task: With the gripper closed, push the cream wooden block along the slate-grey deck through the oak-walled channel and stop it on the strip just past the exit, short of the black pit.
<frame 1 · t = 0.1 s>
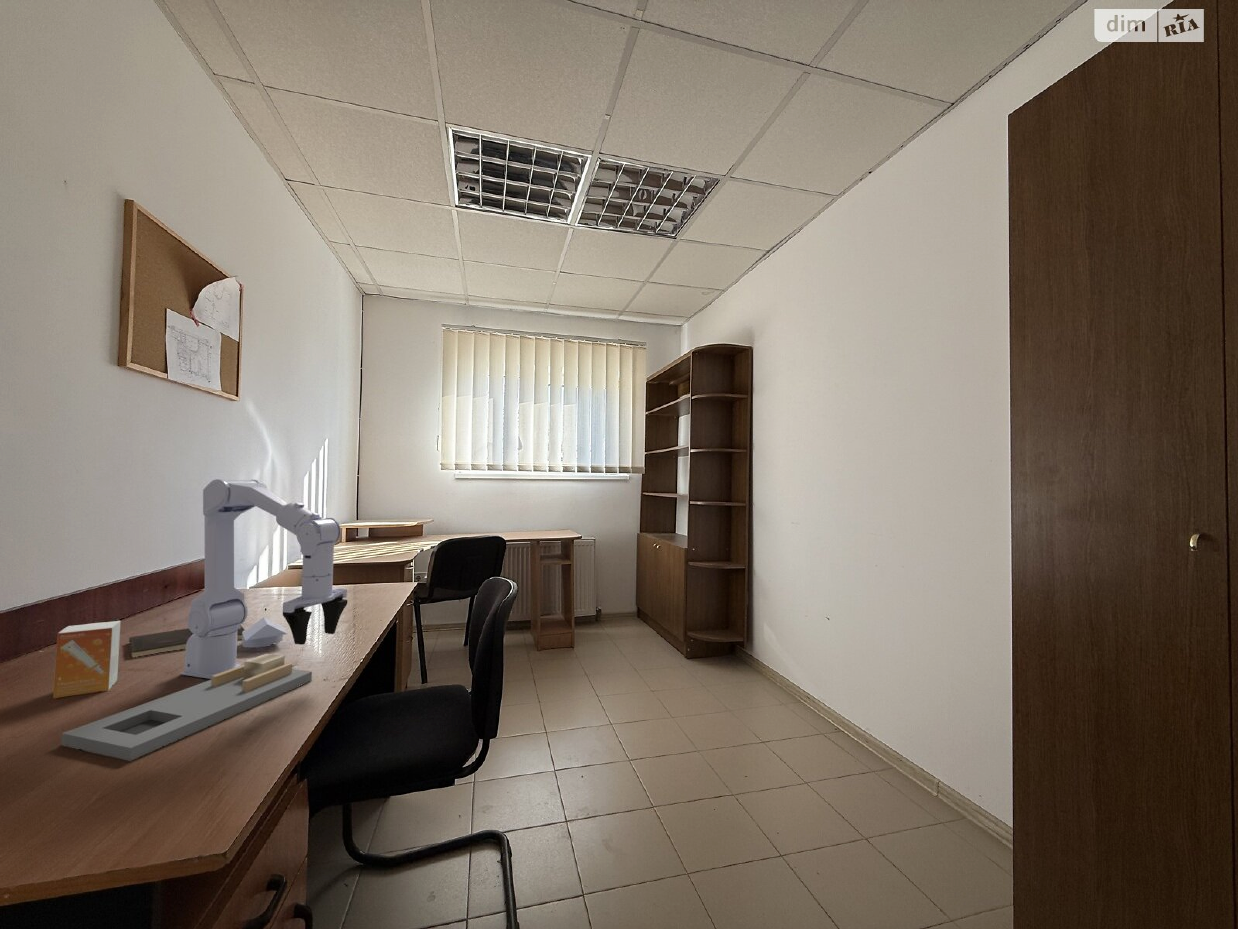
hand: (315, 638, 108), 10 cm above the table, tool pointing down, fingers open, 7 cm apart
hardcover book: (189, 643, 135), on the table
small box: (86, 690, 104), on the table
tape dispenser: (263, 645, 134), on the table
deck: (204, 708, 96), on the table
wooden block: (264, 675, 108), point 2 cm above the table, touching deck
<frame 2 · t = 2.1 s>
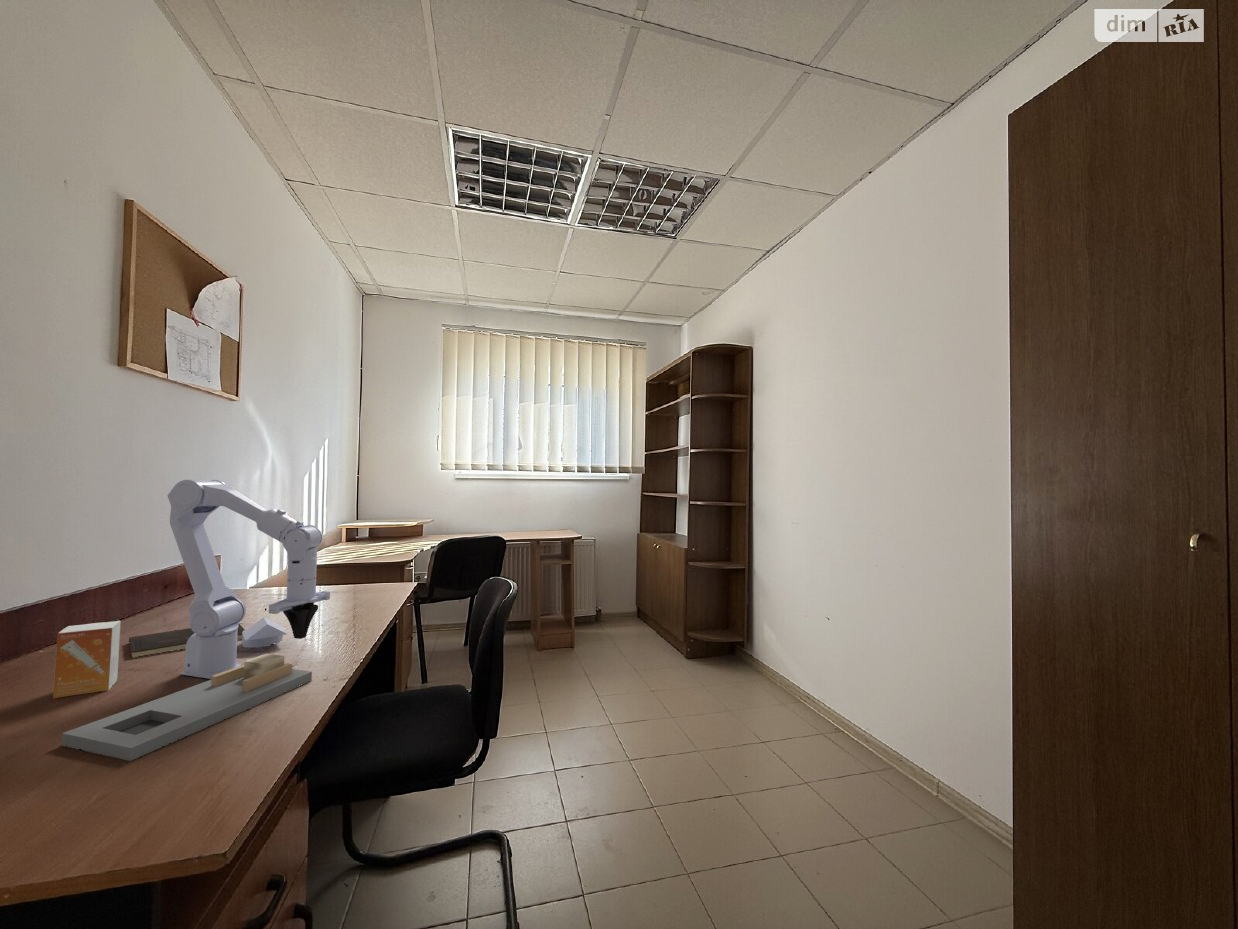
hand: (299, 637, 116), 7 cm above the table, tool pointing down, fingers closed
nothing on the table moved.
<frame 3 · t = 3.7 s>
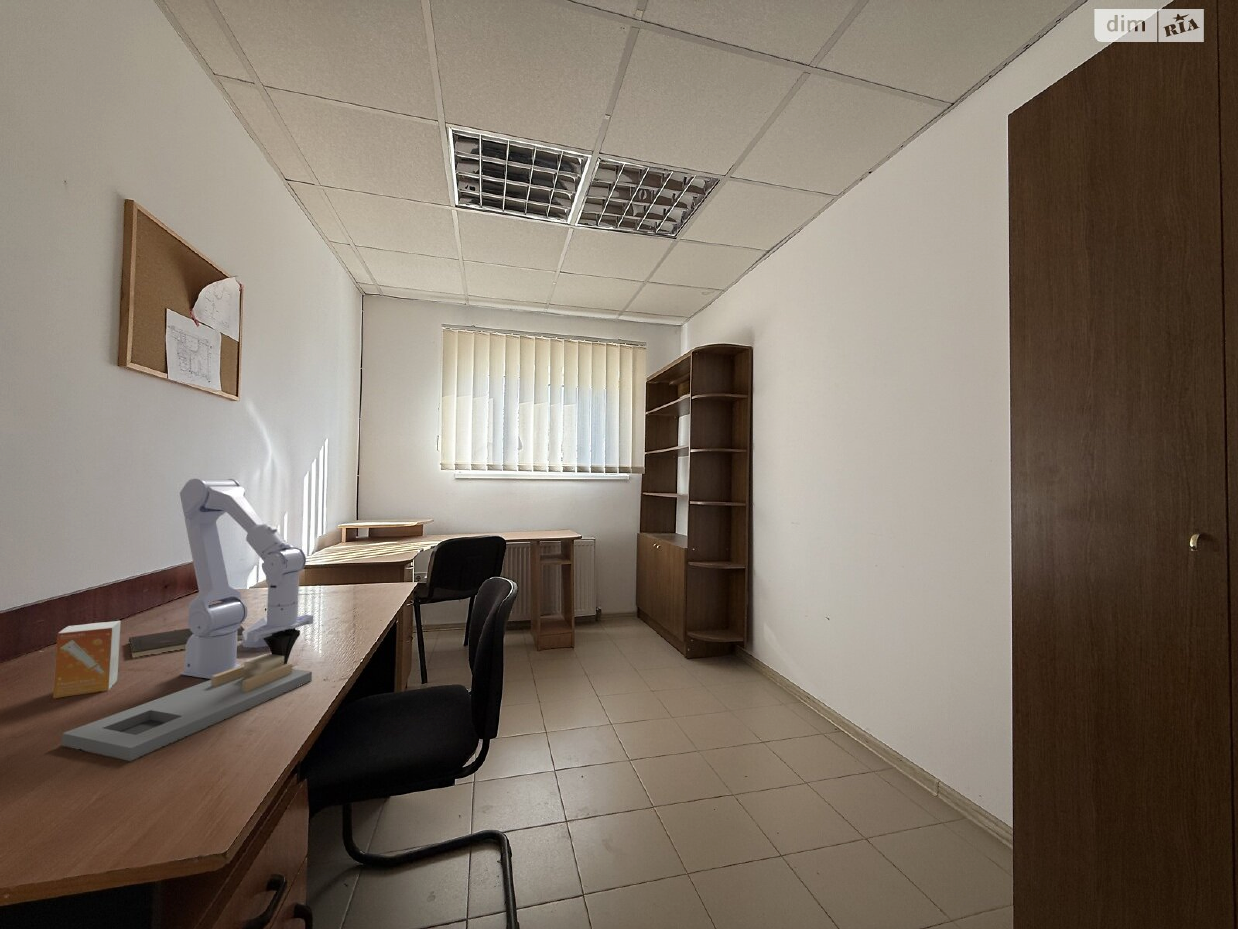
hand: (280, 665, 111), 3 cm above the table, tool pointing down, fingers closed
wooden block: (263, 675, 108), point 2 cm above the table, touching deck, gripper
everything else where it was.
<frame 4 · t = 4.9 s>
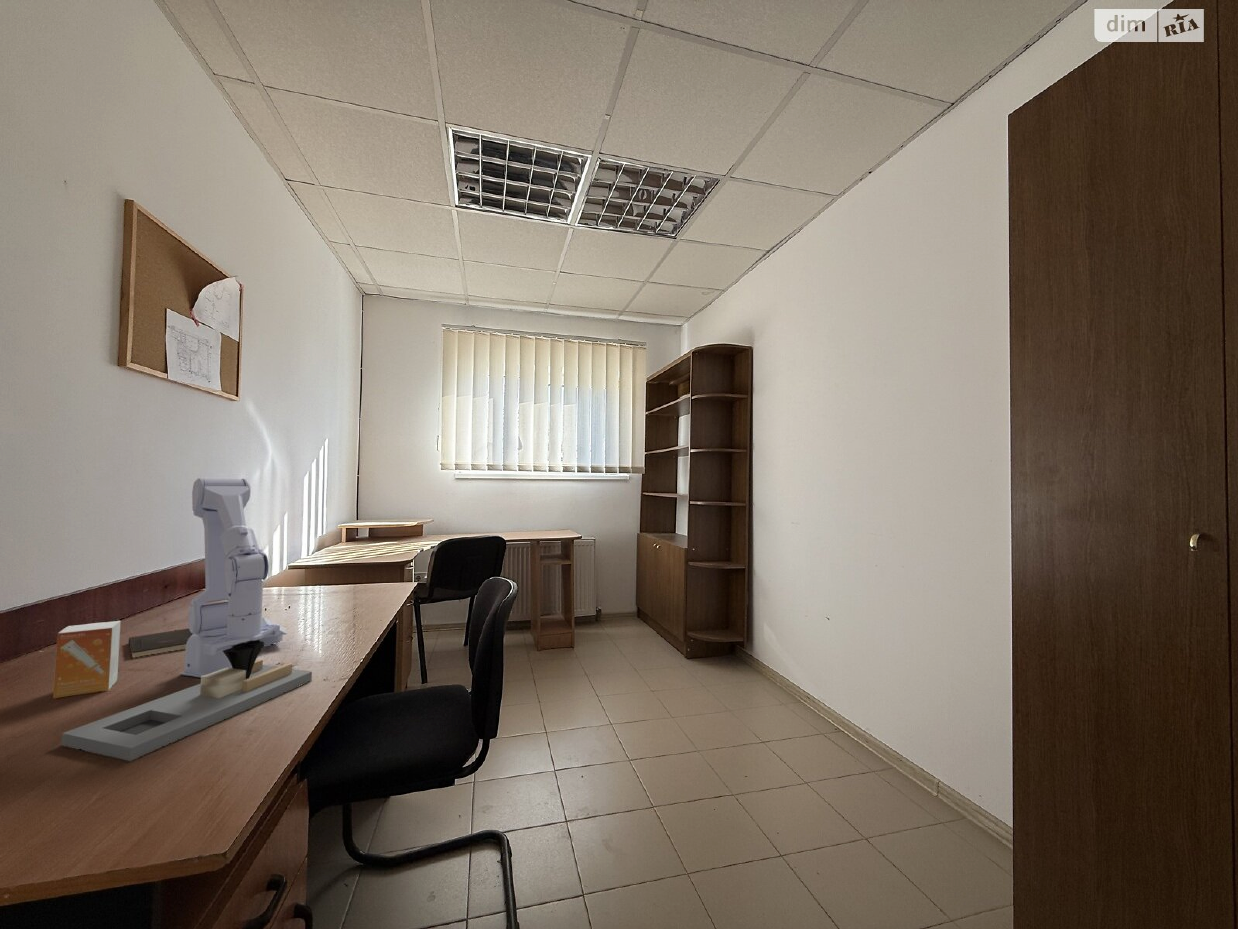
hand: (242, 679, 103), 3 cm above the table, tool pointing down, fingers closed
wooden block: (223, 691, 99), point 2 cm above the table
everything else where it was.
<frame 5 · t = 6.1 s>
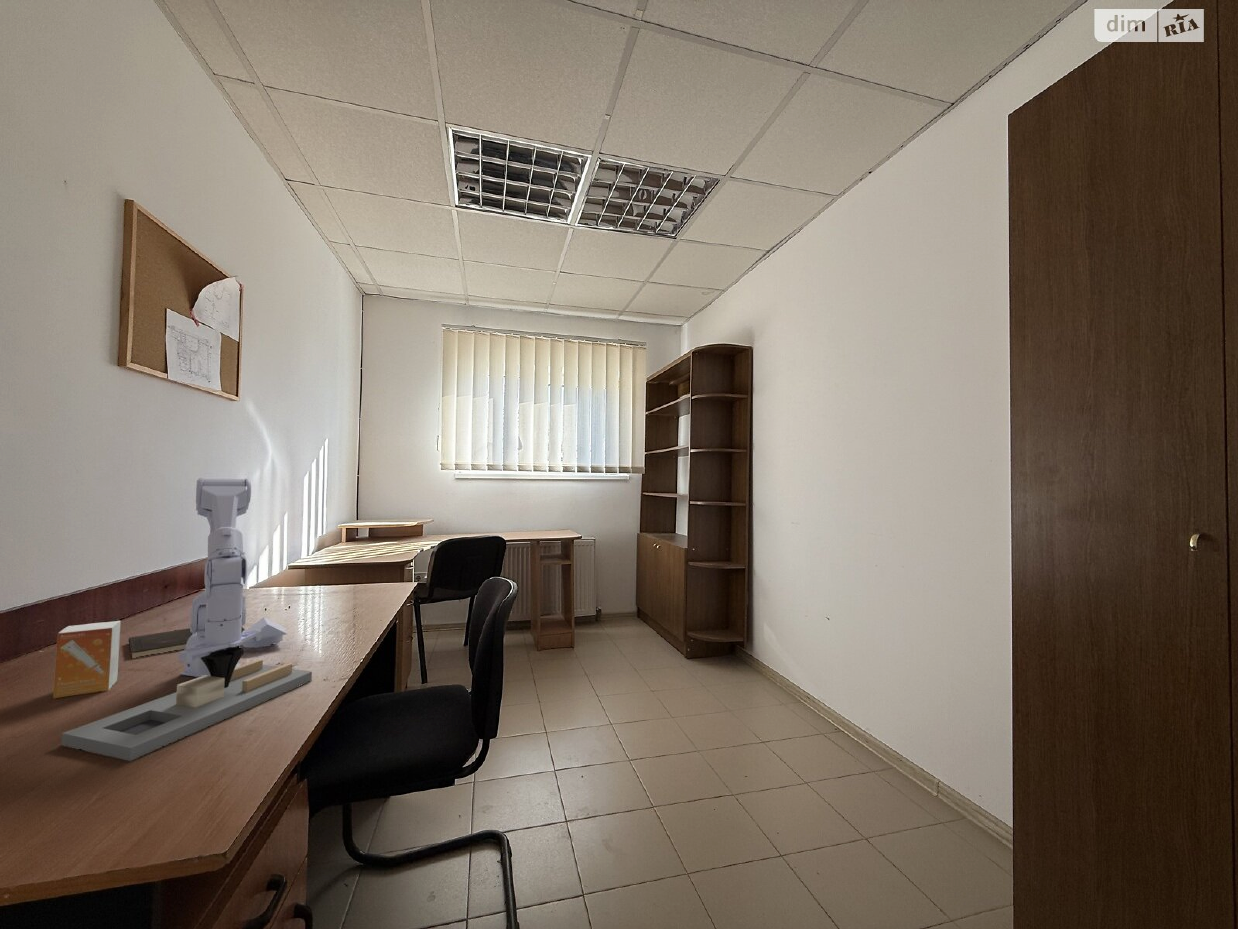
hand: (221, 687, 99), 3 cm above the table, tool pointing down, fingers closed
wooden block: (200, 700, 95), point 2 cm above the table, touching deck, gripper
everything else where it was.
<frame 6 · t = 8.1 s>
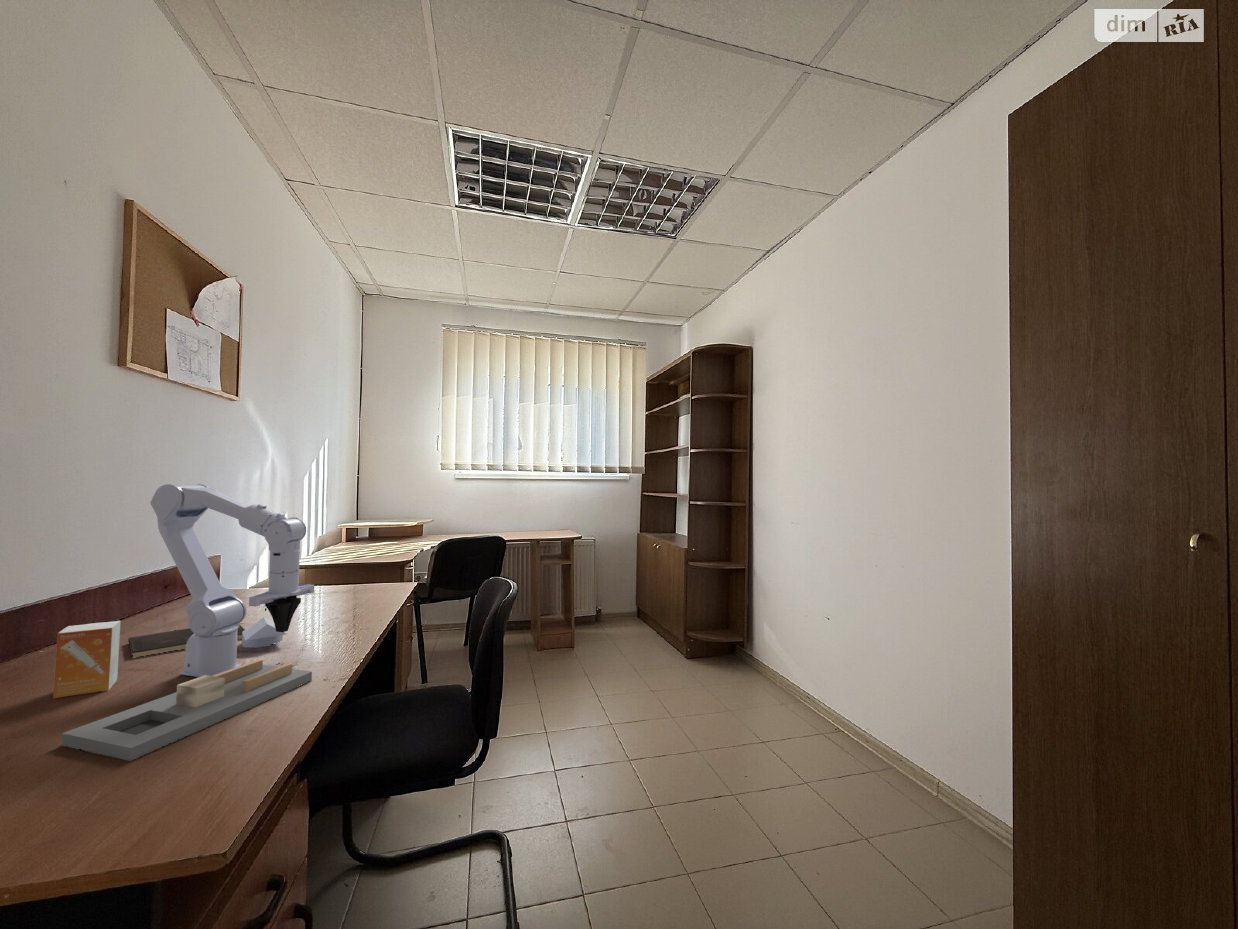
hand: (282, 631, 114), 9 cm above the table, tool pointing down, fingers closed
wooden block: (200, 700, 95), point 2 cm above the table, touching deck
everything else where it was.
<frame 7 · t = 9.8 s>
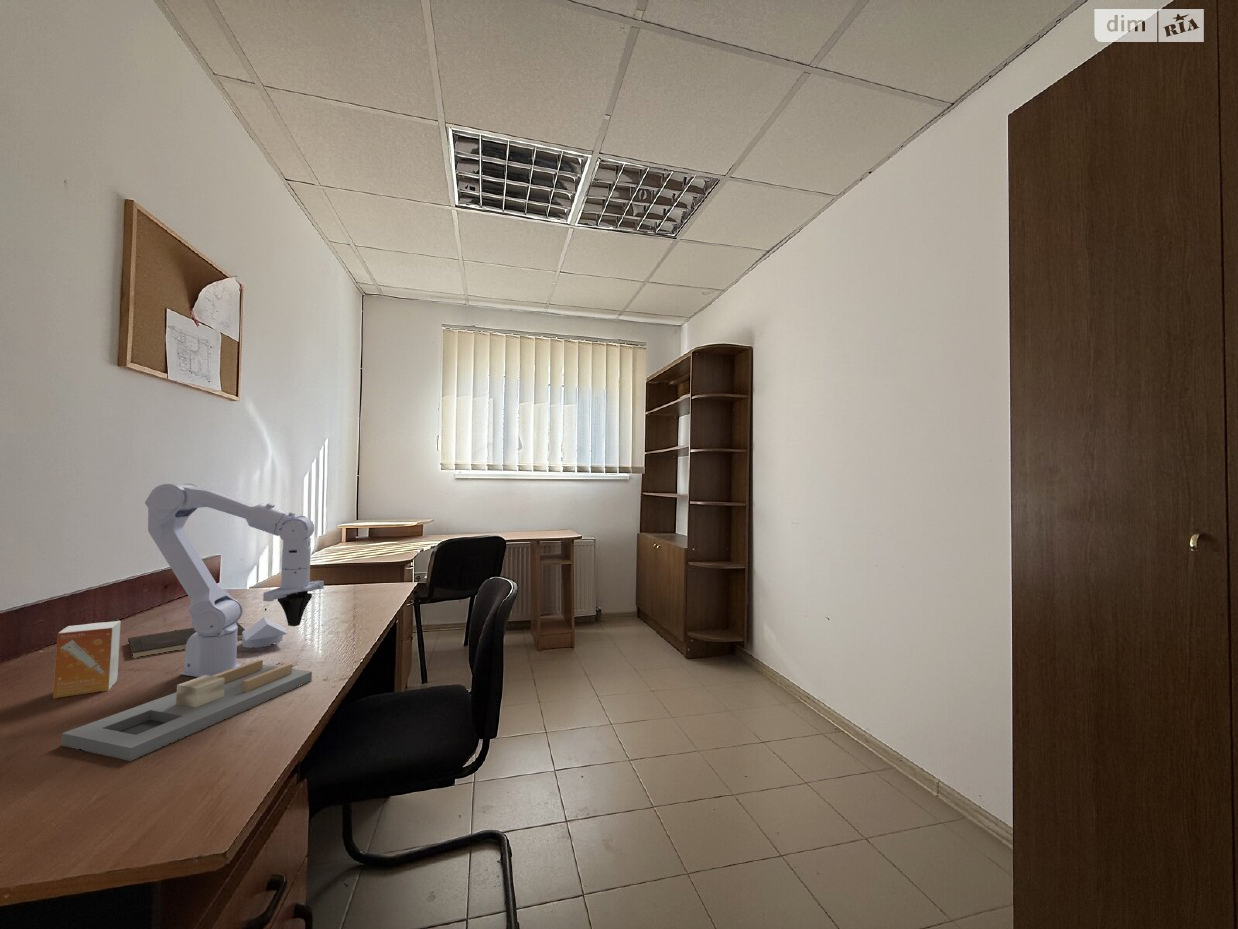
hand: (293, 625, 119), 9 cm above the table, tool pointing down, fingers closed
nothing on the table moved.
at the end: wooden block inside the target area (0.8 cm from its centre), point 2.0 cm above the table; wooden block tilted 0°; the gripper is holding nothing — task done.
